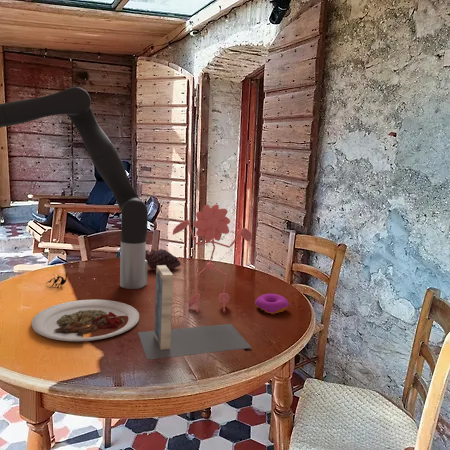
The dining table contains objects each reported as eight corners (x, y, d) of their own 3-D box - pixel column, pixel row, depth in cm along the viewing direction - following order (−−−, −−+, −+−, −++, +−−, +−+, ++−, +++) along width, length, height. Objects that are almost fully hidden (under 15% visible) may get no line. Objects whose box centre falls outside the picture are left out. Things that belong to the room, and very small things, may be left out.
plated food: (35, 308, 132) (35, 298, 132) (131, 301, 143) (131, 292, 142) (27, 352, 105) (27, 339, 104) (147, 339, 115) (147, 328, 115)
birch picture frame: (153, 334, 117) (155, 265, 113) (163, 334, 117) (165, 265, 114) (160, 349, 108) (162, 275, 105) (170, 348, 109) (173, 274, 106)
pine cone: (175, 264, 191) (184, 249, 185) (177, 280, 183) (186, 265, 178) (138, 256, 184) (146, 239, 178) (138, 272, 176) (146, 255, 171)
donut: (250, 306, 145) (251, 293, 144) (275, 303, 150) (276, 290, 149) (267, 317, 136) (268, 304, 135) (293, 313, 140) (294, 300, 139)
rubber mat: (147, 361, 103) (147, 359, 103) (137, 334, 118) (137, 332, 118) (251, 349, 113) (251, 347, 112) (230, 325, 127) (230, 323, 127)
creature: (42, 291, 150) (63, 288, 150) (38, 277, 149) (60, 274, 149) (51, 285, 158) (71, 281, 157) (48, 271, 157) (68, 268, 156)
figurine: (249, 312, 139) (257, 208, 133) (172, 316, 132) (176, 206, 126) (237, 296, 153) (243, 202, 147) (166, 299, 147) (170, 200, 141)
